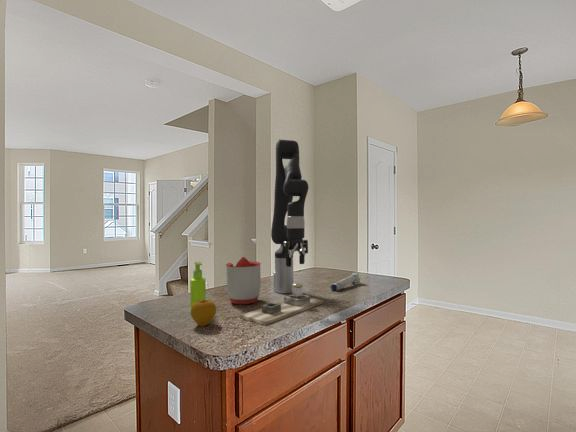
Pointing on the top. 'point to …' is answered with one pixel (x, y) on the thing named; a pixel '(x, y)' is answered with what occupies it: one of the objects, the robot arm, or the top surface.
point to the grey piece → (346, 282)
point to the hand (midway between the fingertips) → (295, 265)
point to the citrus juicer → (243, 281)
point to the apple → (203, 312)
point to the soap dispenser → (197, 285)
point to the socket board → (280, 309)
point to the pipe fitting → (297, 290)
